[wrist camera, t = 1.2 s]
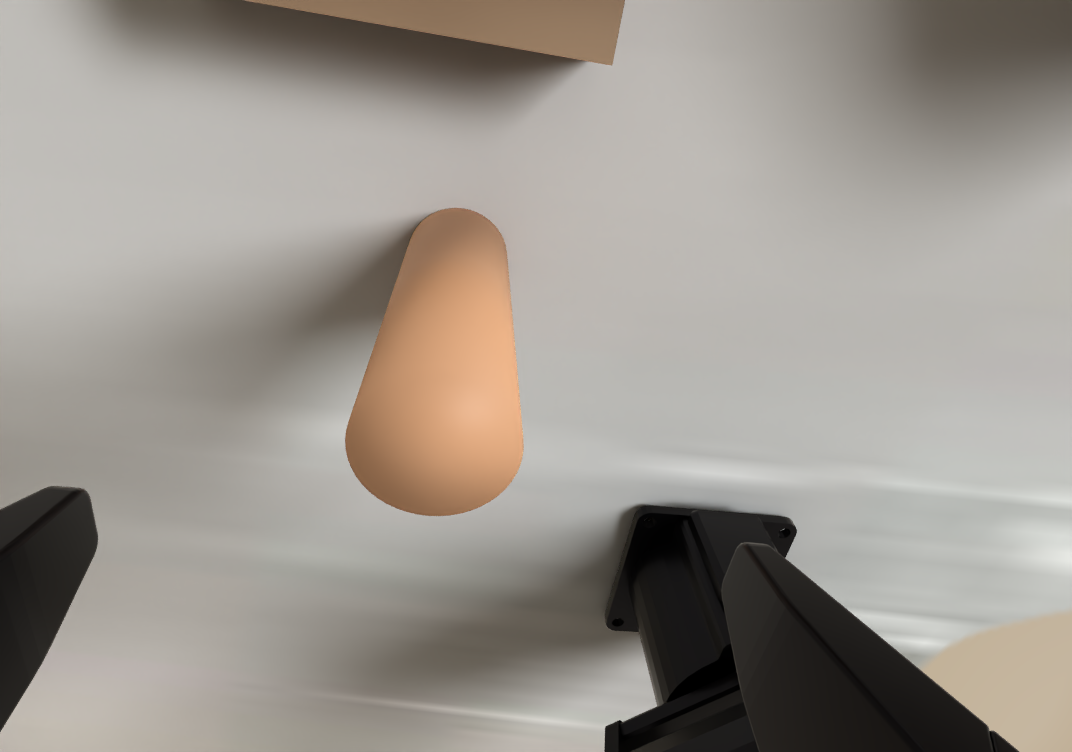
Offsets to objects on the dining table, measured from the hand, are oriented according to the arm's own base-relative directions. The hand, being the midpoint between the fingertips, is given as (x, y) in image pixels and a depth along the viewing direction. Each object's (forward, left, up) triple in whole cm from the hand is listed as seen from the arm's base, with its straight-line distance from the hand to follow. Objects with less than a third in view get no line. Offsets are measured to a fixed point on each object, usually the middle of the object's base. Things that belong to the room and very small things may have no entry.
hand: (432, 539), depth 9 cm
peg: (0, 0, -12) cm, 12 cm away
